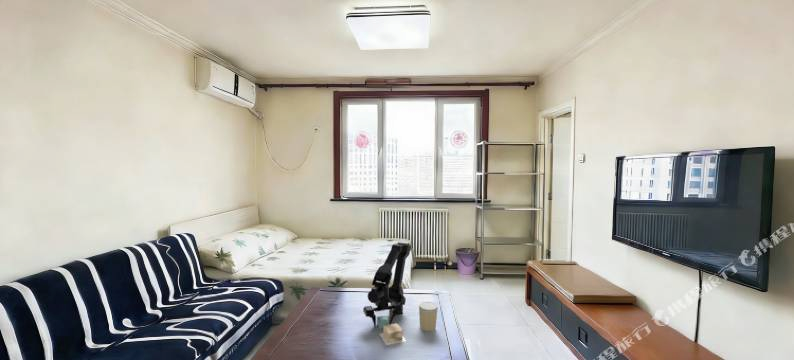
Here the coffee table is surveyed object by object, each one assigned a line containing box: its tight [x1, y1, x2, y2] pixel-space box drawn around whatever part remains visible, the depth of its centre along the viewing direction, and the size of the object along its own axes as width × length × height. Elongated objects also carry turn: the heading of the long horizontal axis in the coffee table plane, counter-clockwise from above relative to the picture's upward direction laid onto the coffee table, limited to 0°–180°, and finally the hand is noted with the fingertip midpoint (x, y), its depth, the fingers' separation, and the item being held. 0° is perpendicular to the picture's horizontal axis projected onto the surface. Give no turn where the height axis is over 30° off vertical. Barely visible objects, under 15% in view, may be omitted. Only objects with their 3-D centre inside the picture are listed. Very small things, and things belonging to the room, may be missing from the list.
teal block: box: [376, 314, 389, 329], centre depth 160 cm, size 4×4×5 cm
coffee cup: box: [418, 301, 439, 333], centre depth 159 cm, size 9×9×12 cm
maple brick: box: [382, 322, 404, 343], centre depth 149 cm, size 7×7×4 cm
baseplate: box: [379, 332, 407, 346], centre depth 150 cm, size 10×10×1 cm
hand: (382, 325), depth 160 cm, fingers open, 8 cm apart
